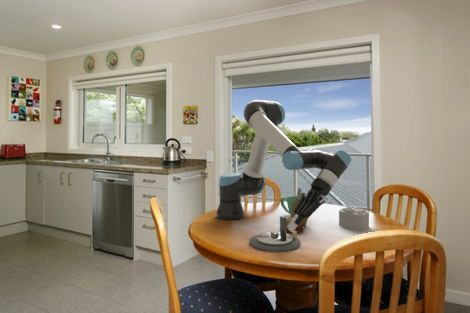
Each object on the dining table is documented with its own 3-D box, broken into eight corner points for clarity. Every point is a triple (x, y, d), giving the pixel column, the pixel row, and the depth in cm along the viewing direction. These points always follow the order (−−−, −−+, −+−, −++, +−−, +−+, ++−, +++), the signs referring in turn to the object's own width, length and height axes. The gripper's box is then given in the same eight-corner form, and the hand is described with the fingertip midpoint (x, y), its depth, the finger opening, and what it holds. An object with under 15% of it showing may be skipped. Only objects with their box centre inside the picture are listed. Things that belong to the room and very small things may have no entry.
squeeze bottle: (308, 223, 150) (308, 187, 150) (307, 227, 143) (307, 189, 142) (292, 222, 153) (292, 186, 152) (289, 226, 145) (289, 188, 145)
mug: (308, 216, 165) (308, 197, 165) (298, 219, 158) (298, 200, 158) (286, 212, 176) (286, 194, 175) (275, 215, 169) (275, 197, 169)
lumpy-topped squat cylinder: (361, 231, 136) (361, 212, 136) (334, 226, 146) (334, 208, 145) (371, 226, 144) (371, 208, 143) (344, 221, 153) (344, 204, 153)
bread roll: (282, 235, 143) (275, 220, 143) (302, 225, 144) (295, 210, 143) (288, 242, 133) (280, 226, 133) (309, 231, 134) (301, 215, 133)
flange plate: (250, 241, 120) (250, 215, 119) (269, 231, 133) (269, 208, 133) (282, 248, 112) (282, 220, 111) (300, 236, 125) (300, 212, 124)
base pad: (242, 248, 116) (242, 237, 116) (257, 233, 135) (257, 224, 134) (295, 254, 109) (295, 243, 109) (303, 238, 127) (303, 228, 127)
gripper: (340, 190, 118) (305, 240, 112) (319, 187, 130) (286, 231, 124) (328, 178, 116) (292, 227, 110) (308, 175, 127) (274, 220, 122)
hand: (289, 229), depth 117 cm, fingers closed
